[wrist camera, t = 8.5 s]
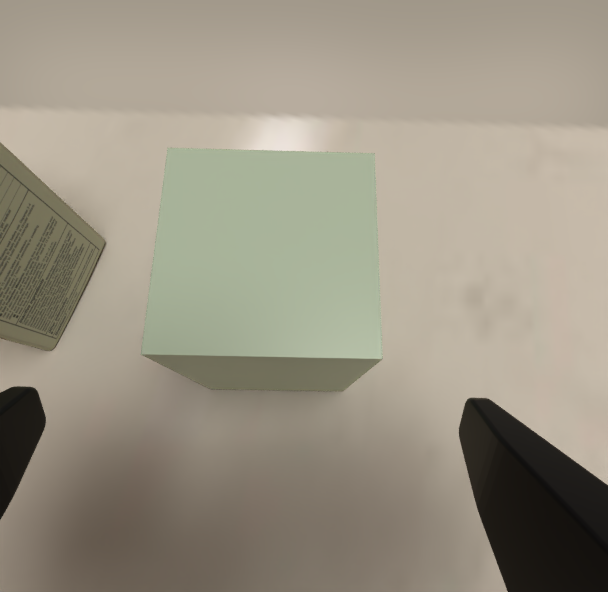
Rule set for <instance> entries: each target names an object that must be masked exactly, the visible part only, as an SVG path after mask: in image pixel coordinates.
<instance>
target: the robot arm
mask: <svg viewBox="0 0 608 592" xmlns="http://www.w3.org/2000/svg"><path fill="white" fill-rule="evenodd" d="M45 424H46V417H45V413H44V410H43V407H42V404H41V400H40V397H39V394H38V391H37V390H36V389H35V388H33V387H11V388H9V389H7V390H5V391H3V392H1V393H0V519H1V518H2V516H3V514H4V512H5V511H6V509H7V507H8V505H9V503H10V502H11V500H12V498H13V496H14V494H15V492H16V490H17V488H18V486H19V484H20V481H21V479H22V477H23V475H24V473H25V470H26V468H27V466H28V464H29V462H30V459H31V457H32V455H33V453H34V451H35V448H36V446H37V444H38V442H39V440H40V437H41V435H42V433H43V431H44V428H45ZM459 438H460V442H461V446H462V450H463V454H464V458H465V462H466V466H467V470H468V474H469V478H470V482H471V486H472V490H473V494H474V498H475V502H476V505H477V509H478V512H479V515H480V517H481V520H482V523H483V526H484V528H485V531H486V534H487V537H488V539H489V542H490V545H491V547H492V550H493V553H494V556H495V558H496V561H497V564H498V566H499V569H500V572H501V575H502V577H503V580H504V583H505V585H506V588H507V591H508V592H608V485H607V484H605V483H604V482H603V481H601V480H600V479H598V478H597V477H596V476H594V475H593V474H592V473H590V472H589V471H587V470H586V469H585V468H583V467H582V466H581V465H579V464H578V463H576V462H575V461H574V460H572V459H571V458H570V457H568V456H567V455H565V454H564V453H563V452H561V451H560V450H559V449H557V448H556V447H554V446H553V445H552V444H550V443H549V442H548V441H546V440H545V439H543V438H542V437H541V436H539V435H538V434H537V433H535V432H534V431H532V430H531V429H530V428H528V427H527V426H526V425H524V424H523V423H521V422H520V421H519V420H517V419H516V418H515V417H513V416H512V415H510V414H509V413H508V412H506V411H505V410H504V409H502V408H501V407H499V406H498V405H497V404H495V403H494V402H493V401H491V400H489V399H487V398H469V399H467V401H466V403H465V406H464V410H463V414H462V418H461V422H460V426H459Z"/></svg>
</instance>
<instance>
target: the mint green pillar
mask: <svg viewBox="0 0 608 592" xmlns="http://www.w3.org/2000/svg"><path fill="white" fill-rule="evenodd" d="M141 355H143V356H145V357H147V358H149V359H151V360H153V361H155V362H157V363H159V364H161V365H163V366H165V367H167V368H169V369H171V370H173V371H175V372H177V373H179V374H181V375H183V376H185V377H187V378H189V379H191V380H193V381H195V382H197V383H199V384H201V385H203V386H205V387H207V388H209V389H234V390H289V391H344V390H345V389H346V388H347V387H349V386H350V385H351V384H352V383H354V382H355V381H356V380H357V379H359V378H360V377H361V376H362V375H363V374H365V373H366V372H367V371H368V370H370V369H371V368H372V367H373V366H375V365H376V364H377V363H378V362H379V361H381V360H382V359H383V356H382V331H381V305H380V279H379V254H378V228H377V202H376V177H375V153H341V152H304V151H267V150H230V149H193V148H168V149H167V156H166V164H165V172H164V180H163V187H162V195H161V203H160V210H159V218H158V226H157V233H156V241H155V249H154V257H153V264H152V272H151V280H150V287H149V295H148V303H147V311H146V318H145V326H144V334H143V341H142V349H141Z"/></svg>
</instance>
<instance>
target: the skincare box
mask: <svg viewBox="0 0 608 592" xmlns="http://www.w3.org/2000/svg"><path fill="white" fill-rule="evenodd" d="M104 244H105V240H104V239H103V238H102V237H101V236H100V235H99V234H98V233H97V232H96V231H95V230H94V229H93V228H91V227H90V226H89V225H88V224H87V223H86V222H85V221H84V220H83V219H82V218H81V217H80V216H79V215H77V214H76V213H75V212H74V211H73V210H72V209H71V208H70V207H69V206H68V205H67V204H66V203H65V202H64V201H63V200H62V199H60V198H59V197H58V196H57V195H56V194H55V193H54V192H53V191H52V190H51V189H50V188H49V187H48V186H47V185H46V184H45V183H43V182H42V181H41V180H40V179H39V178H38V177H37V176H36V175H35V174H34V173H33V172H32V171H31V170H30V169H28V168H27V167H26V166H25V165H24V164H23V163H22V162H21V161H20V160H19V159H18V158H17V157H16V156H15V155H13V154H12V153H11V152H10V151H9V150H8V149H7V148H6V147H5V146H4V145H3V144H1V143H0V338H2V339H5V340H9V341H13V342H16V343H20V344H24V345H28V346H32V347H35V348H39V349H43V350H47V351H49V350H52V349H53V348H54V347H55V346H56V344H57V342H58V340H59V338H60V336H61V334H62V333H63V331H64V328H65V326H66V325H67V323H68V321H69V319H70V317H71V315H72V313H73V310H74V308H75V306H76V304H77V302H78V300H79V298H80V296H81V294H82V292H83V290H84V288H85V286H86V284H87V282H88V279H89V277H90V275H91V273H92V271H93V269H94V266H95V264H96V262H97V260H98V257H99V255H100V253H101V251H102V249H103V246H104Z"/></svg>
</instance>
